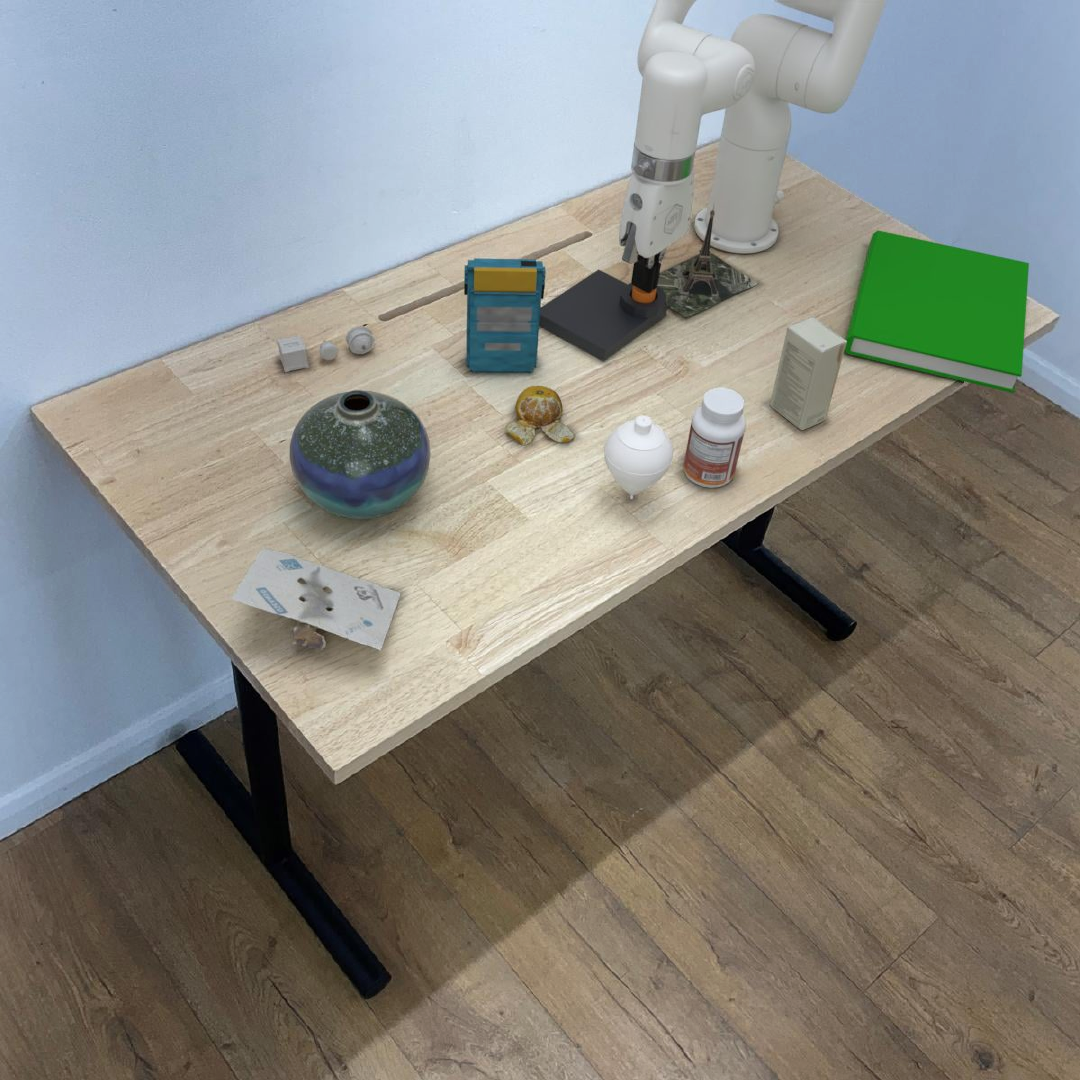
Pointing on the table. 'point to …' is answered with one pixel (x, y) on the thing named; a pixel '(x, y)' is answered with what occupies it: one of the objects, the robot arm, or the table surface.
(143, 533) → the table surface
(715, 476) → the pill bottle
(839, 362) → the cosmetic box
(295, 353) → the toy set
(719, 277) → the eiffel tower figurine
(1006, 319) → the book
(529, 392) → the fruit
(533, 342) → the teal case
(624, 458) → the spinning top
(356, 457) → the vase
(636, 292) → the button
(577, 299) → the dark grey button base
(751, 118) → the robot arm
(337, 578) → the card
